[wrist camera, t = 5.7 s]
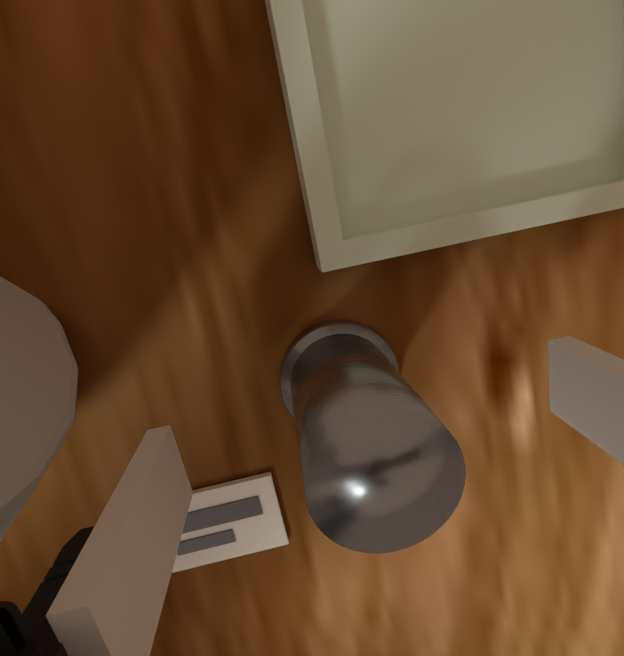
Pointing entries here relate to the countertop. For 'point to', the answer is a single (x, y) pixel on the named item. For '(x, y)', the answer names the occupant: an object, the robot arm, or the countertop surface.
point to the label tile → (231, 522)
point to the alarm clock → (31, 396)
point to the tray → (449, 118)
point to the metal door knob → (367, 441)
